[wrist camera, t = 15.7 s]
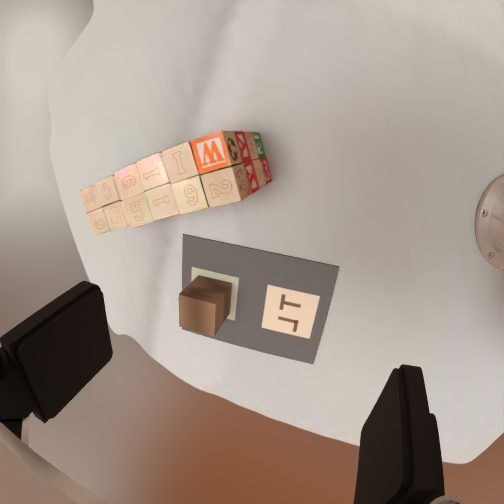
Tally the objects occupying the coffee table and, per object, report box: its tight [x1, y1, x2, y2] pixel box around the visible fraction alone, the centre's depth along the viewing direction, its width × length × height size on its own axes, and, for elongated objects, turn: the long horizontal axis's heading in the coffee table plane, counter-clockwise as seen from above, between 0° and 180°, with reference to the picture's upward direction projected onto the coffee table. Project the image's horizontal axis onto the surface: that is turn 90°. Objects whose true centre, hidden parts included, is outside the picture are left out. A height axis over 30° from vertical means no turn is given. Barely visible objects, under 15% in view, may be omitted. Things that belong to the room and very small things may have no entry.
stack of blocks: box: [80, 131, 272, 236], centre depth 35 cm, size 21×6×12 cm, turn 105°
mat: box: [182, 234, 339, 364], centre depth 44 cm, size 21×16×1 cm
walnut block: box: [179, 275, 232, 337], centre depth 42 cm, size 5×5×6 cm
